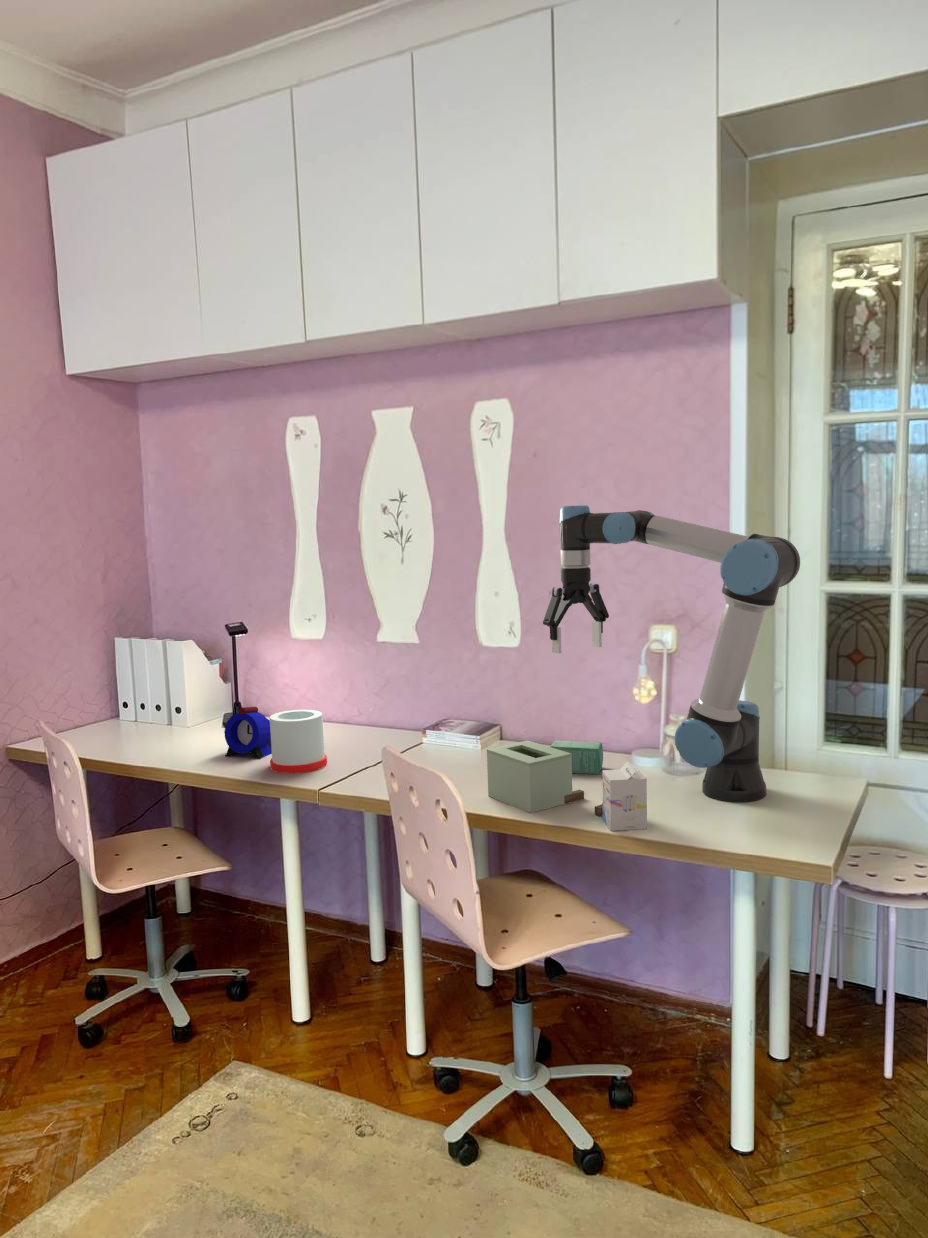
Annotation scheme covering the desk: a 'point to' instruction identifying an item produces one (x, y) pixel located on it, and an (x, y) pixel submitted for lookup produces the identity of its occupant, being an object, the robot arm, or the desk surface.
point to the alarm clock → (248, 733)
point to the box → (582, 755)
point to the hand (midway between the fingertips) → (577, 649)
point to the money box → (529, 775)
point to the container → (297, 741)
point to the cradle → (579, 796)
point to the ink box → (624, 799)
